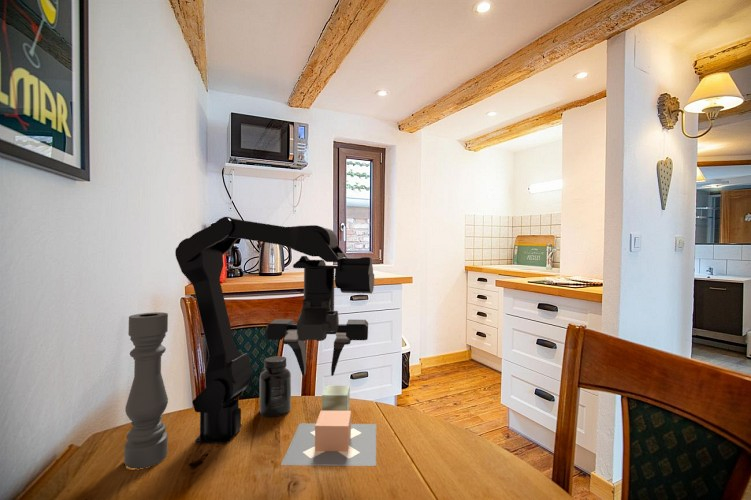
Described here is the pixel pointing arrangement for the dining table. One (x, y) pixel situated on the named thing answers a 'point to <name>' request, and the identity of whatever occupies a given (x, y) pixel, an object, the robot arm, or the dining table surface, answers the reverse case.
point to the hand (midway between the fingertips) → (318, 374)
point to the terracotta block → (333, 431)
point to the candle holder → (147, 392)
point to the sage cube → (336, 398)
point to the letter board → (357, 455)
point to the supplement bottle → (275, 388)
